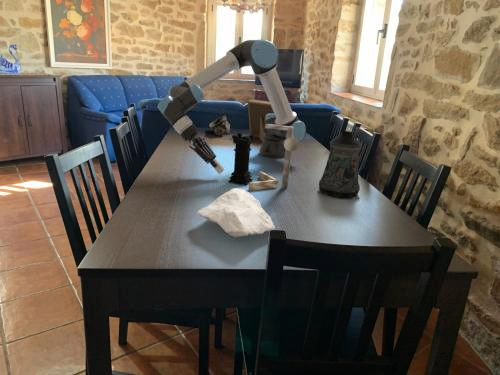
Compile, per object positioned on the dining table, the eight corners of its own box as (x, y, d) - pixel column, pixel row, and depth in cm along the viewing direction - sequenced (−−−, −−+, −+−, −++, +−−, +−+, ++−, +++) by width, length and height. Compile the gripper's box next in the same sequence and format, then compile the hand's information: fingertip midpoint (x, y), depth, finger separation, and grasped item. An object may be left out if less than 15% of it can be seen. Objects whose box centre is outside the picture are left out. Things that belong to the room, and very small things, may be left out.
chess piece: (252, 180, 160) (255, 134, 153) (246, 185, 152) (249, 138, 146) (235, 177, 162) (238, 132, 156) (228, 182, 155) (230, 135, 148)
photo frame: (253, 134, 261) (255, 98, 253) (280, 139, 251) (283, 102, 242) (241, 137, 249) (243, 100, 241) (269, 143, 239) (272, 104, 230)
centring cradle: (277, 177, 167) (282, 120, 159) (292, 189, 152) (299, 128, 144) (237, 178, 161) (241, 119, 153) (250, 191, 146) (254, 127, 138)
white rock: (189, 245, 98) (195, 214, 95) (200, 198, 131) (205, 174, 128) (275, 261, 100) (283, 231, 97) (264, 210, 133) (271, 187, 130)
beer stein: (335, 201, 142) (345, 137, 134) (306, 185, 158) (313, 127, 150) (367, 197, 150) (378, 136, 141) (336, 182, 166) (344, 127, 158)
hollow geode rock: (219, 144, 245) (235, 129, 241) (205, 130, 241) (222, 115, 238) (222, 135, 271) (237, 122, 267) (210, 122, 268) (225, 108, 264)
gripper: (186, 132, 164) (220, 173, 165) (173, 137, 152) (210, 181, 153) (198, 121, 161) (232, 163, 163) (186, 125, 149) (223, 170, 151)
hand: (221, 172), depth 158 cm, fingers closed
